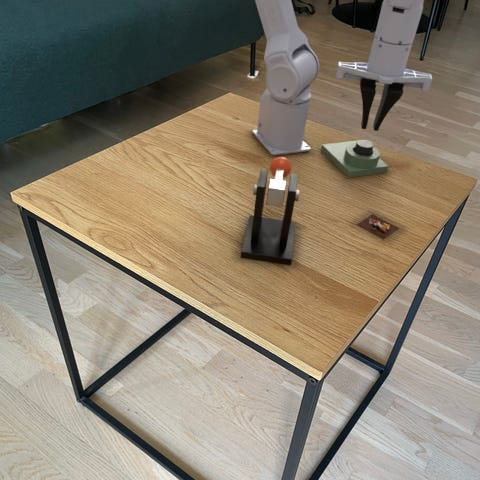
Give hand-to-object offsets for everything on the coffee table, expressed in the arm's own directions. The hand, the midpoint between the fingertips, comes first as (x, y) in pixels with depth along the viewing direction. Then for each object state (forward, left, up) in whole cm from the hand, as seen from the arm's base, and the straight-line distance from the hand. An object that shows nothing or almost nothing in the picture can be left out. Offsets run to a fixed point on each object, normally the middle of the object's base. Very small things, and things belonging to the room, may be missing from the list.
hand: (369, 127), depth 84 cm
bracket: (+16, -25, -7) cm, 30 cm away
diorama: (+17, -7, -8) cm, 20 cm away
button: (0, 0, -5) cm, 5 cm away
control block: (-2, 0, -7) cm, 7 cm away
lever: (+13, -23, -1) cm, 26 cm away
